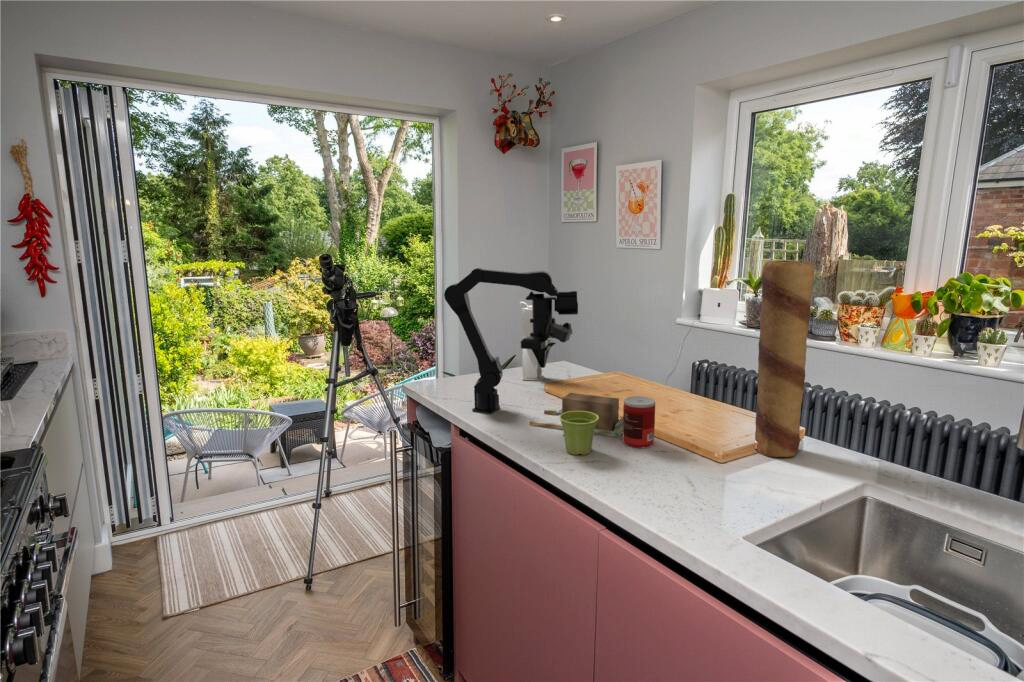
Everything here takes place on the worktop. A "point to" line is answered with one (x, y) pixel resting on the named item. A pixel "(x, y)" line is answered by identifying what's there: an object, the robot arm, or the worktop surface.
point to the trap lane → (597, 431)
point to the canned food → (638, 421)
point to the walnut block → (594, 408)
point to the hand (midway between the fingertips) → (542, 367)
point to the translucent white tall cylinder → (529, 360)
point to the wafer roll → (782, 355)
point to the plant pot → (578, 431)
